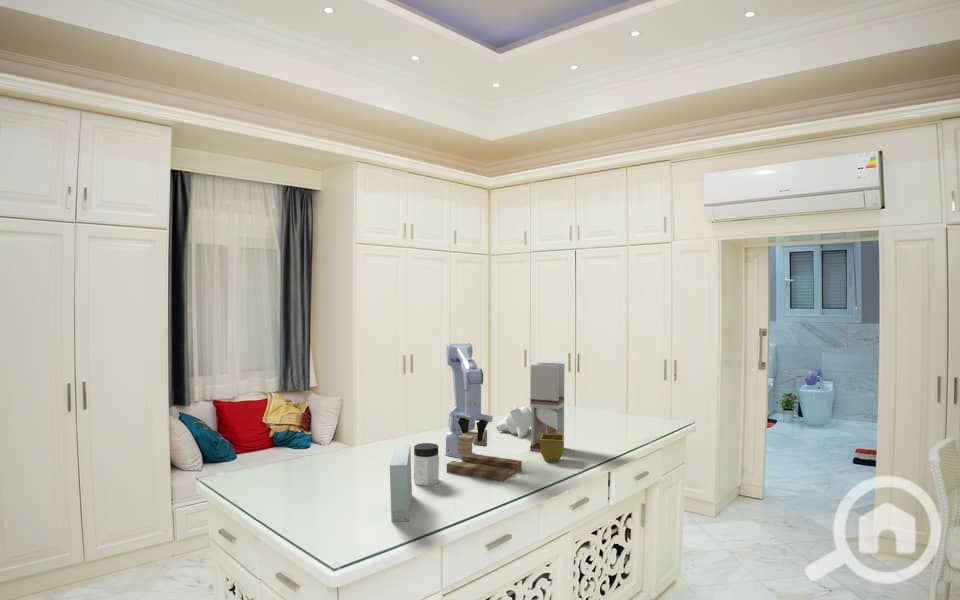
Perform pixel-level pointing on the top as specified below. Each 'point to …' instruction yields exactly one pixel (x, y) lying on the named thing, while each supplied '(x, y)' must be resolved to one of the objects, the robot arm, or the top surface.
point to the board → (485, 467)
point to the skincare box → (400, 483)
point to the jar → (426, 464)
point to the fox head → (516, 422)
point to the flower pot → (551, 447)
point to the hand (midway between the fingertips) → (472, 440)
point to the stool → (470, 441)
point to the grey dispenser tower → (546, 401)
